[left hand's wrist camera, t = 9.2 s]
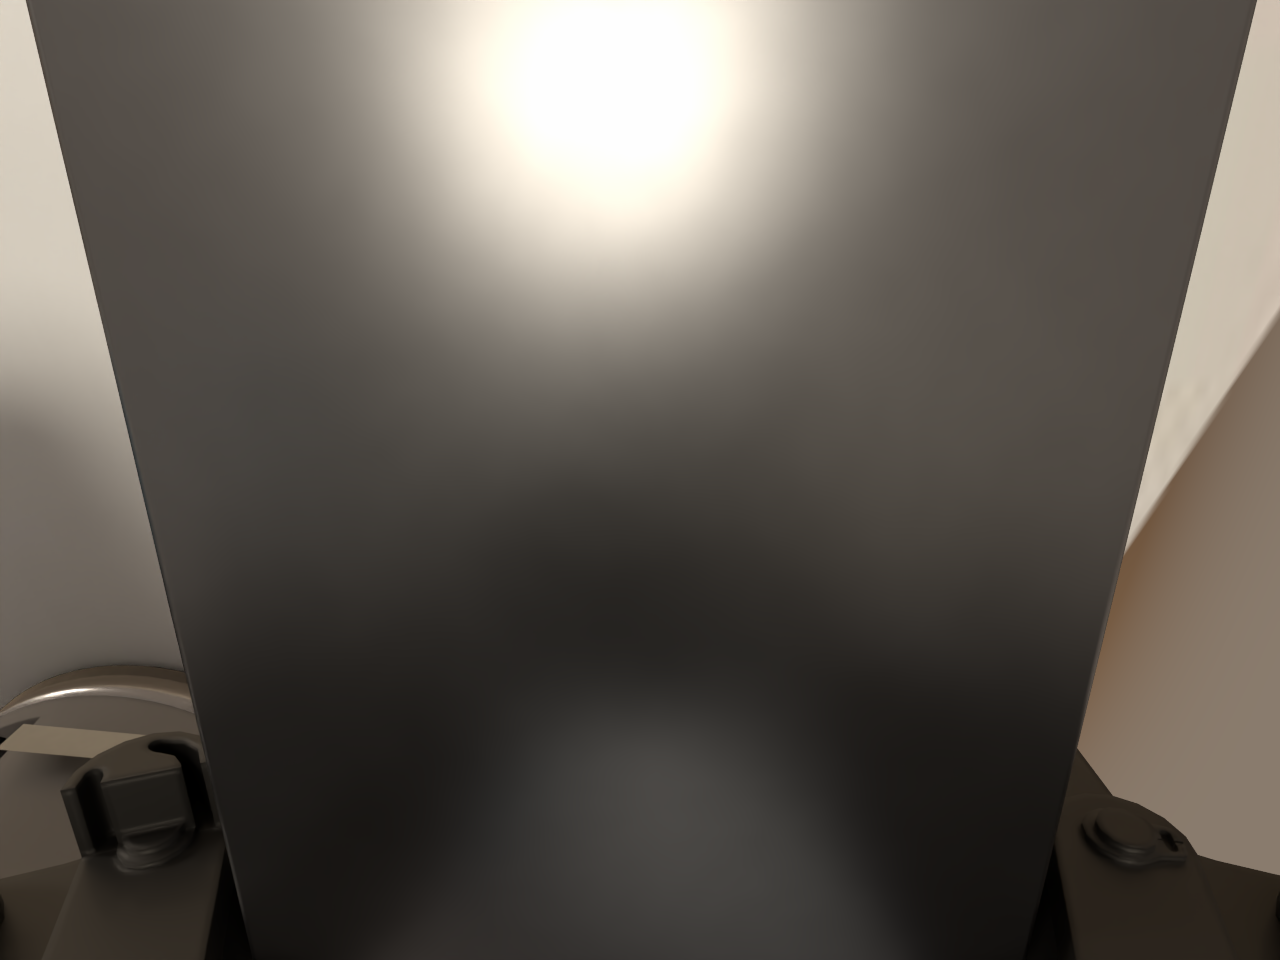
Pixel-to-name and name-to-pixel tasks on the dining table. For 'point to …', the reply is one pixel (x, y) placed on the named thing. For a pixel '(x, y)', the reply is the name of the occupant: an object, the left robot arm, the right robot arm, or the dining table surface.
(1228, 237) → the dining table surface
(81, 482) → the dining table surface
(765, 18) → the box
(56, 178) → the dining table surface
